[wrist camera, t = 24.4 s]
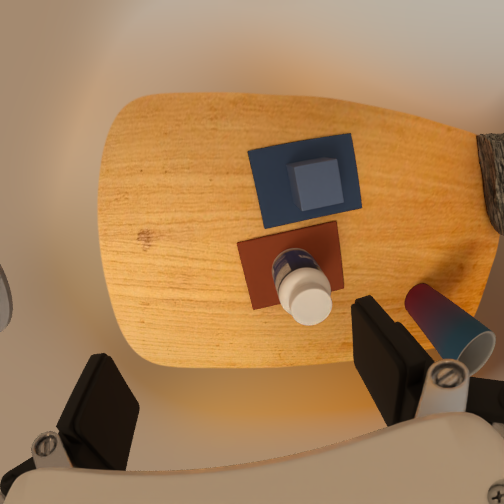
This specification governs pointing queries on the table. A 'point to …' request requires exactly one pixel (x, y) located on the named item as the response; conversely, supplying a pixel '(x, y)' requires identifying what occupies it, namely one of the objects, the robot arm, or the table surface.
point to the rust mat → (269, 247)
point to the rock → (493, 176)
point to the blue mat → (278, 186)
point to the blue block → (315, 183)
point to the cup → (450, 327)
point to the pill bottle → (302, 286)
